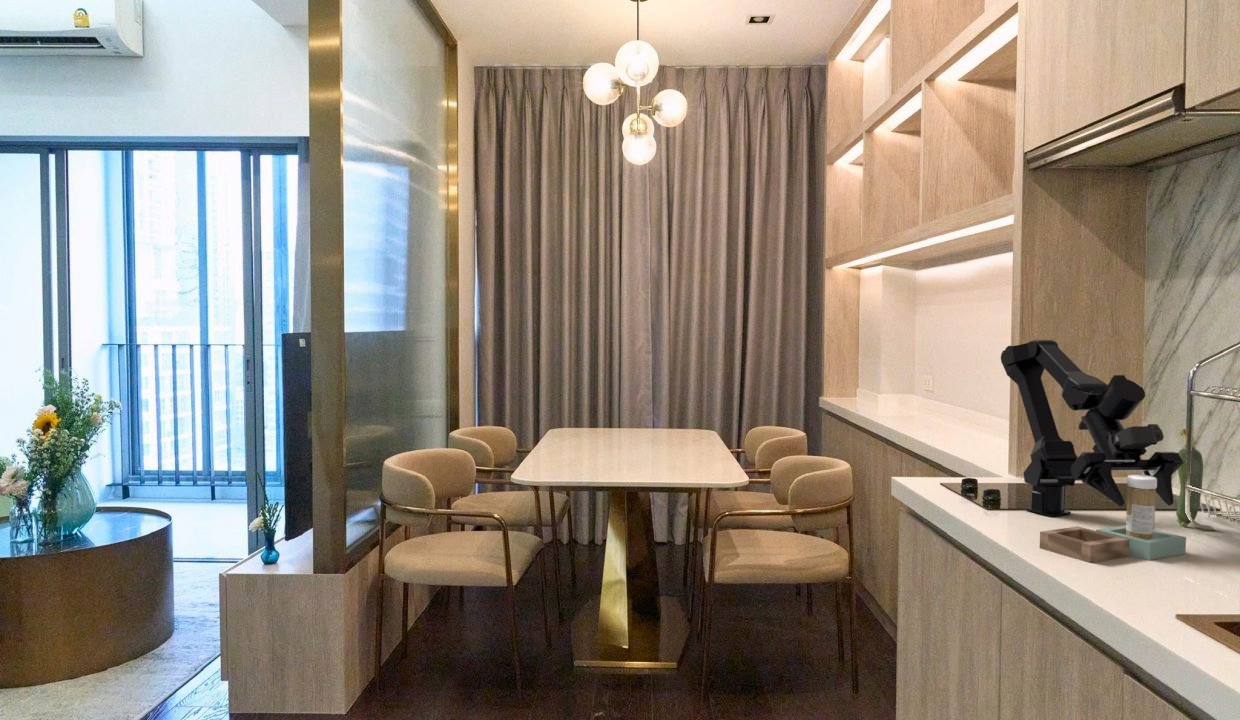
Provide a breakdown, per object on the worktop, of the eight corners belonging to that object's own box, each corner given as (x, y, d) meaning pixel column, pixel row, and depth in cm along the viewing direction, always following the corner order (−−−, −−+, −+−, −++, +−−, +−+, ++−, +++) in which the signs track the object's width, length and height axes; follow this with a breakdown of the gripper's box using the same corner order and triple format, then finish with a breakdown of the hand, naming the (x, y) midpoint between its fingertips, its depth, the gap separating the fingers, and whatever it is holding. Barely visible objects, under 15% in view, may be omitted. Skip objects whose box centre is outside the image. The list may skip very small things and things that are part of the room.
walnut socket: (1077, 542, 157) (1077, 526, 156) (1128, 556, 147) (1129, 539, 147) (1039, 547, 152) (1040, 531, 152) (1090, 562, 143) (1090, 545, 143)
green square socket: (1131, 540, 158) (1131, 524, 158) (1185, 553, 149) (1186, 537, 149) (1095, 545, 154) (1096, 529, 154) (1149, 560, 145) (1149, 543, 145)
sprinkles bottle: (1126, 544, 155) (1129, 472, 154) (1155, 549, 152) (1158, 476, 151) (1122, 549, 152) (1125, 476, 151) (1152, 554, 149) (1155, 479, 148)
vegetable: (1199, 526, 169) (1203, 428, 168) (1201, 531, 165) (1205, 430, 164) (1173, 523, 171) (1177, 426, 170) (1174, 528, 168) (1178, 429, 167)
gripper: (1082, 408, 154) (1119, 479, 143) (1178, 408, 155) (1222, 479, 145) (1055, 444, 162) (1089, 514, 152) (1147, 444, 163) (1186, 513, 153)
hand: (1146, 504), depth 150 cm, fingers open, 9 cm apart
